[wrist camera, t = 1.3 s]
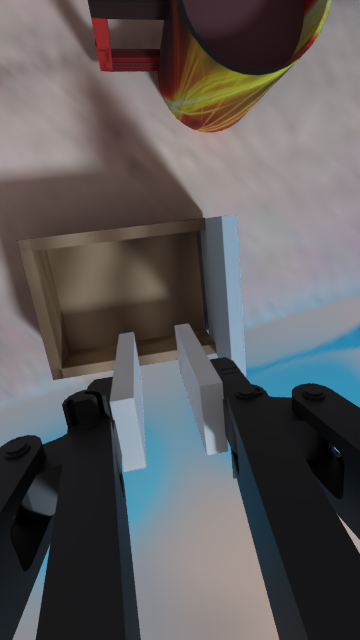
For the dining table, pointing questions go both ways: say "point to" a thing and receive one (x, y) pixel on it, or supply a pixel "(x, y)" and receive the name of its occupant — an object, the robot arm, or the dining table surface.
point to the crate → (115, 293)
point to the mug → (213, 51)
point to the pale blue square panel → (224, 287)
